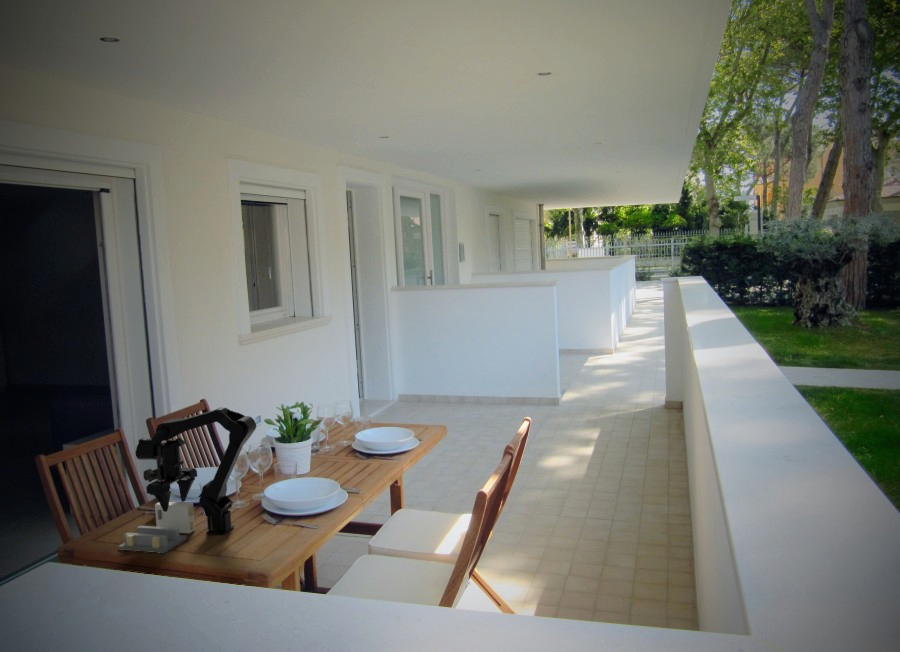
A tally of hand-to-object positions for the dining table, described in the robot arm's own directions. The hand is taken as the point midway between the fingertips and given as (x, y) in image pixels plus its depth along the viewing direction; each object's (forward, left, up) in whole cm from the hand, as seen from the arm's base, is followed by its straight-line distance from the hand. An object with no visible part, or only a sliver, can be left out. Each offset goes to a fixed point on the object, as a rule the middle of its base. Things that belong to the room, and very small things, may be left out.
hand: (174, 506), depth 226 cm
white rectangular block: (0, 0, -8) cm, 8 cm away
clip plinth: (0, +12, -8) cm, 14 cm away
